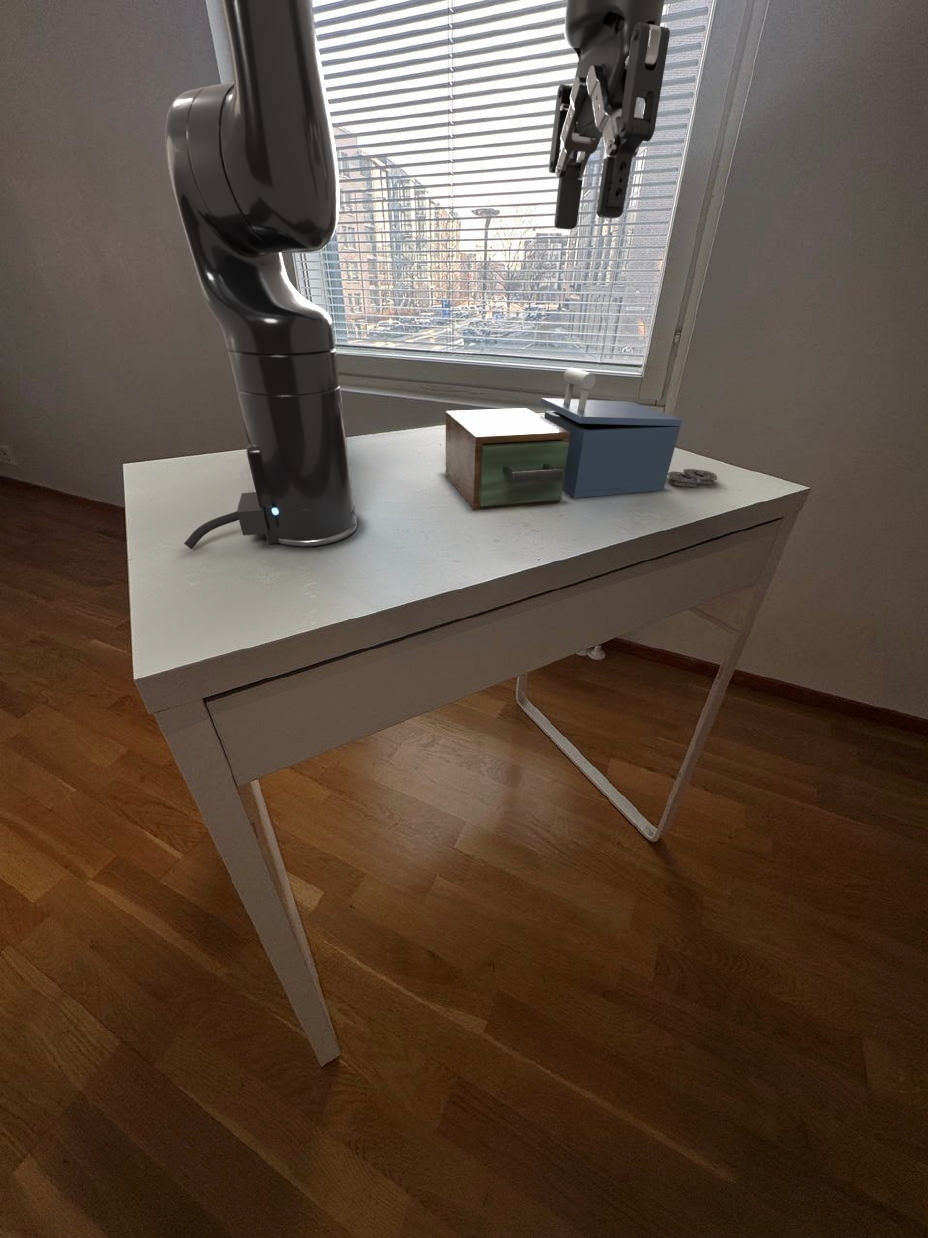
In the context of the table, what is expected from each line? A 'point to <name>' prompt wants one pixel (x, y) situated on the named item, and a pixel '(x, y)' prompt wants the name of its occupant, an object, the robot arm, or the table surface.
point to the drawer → (521, 472)
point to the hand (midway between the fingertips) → (585, 223)
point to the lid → (603, 406)
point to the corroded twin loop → (691, 477)
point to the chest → (615, 457)
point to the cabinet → (490, 427)
